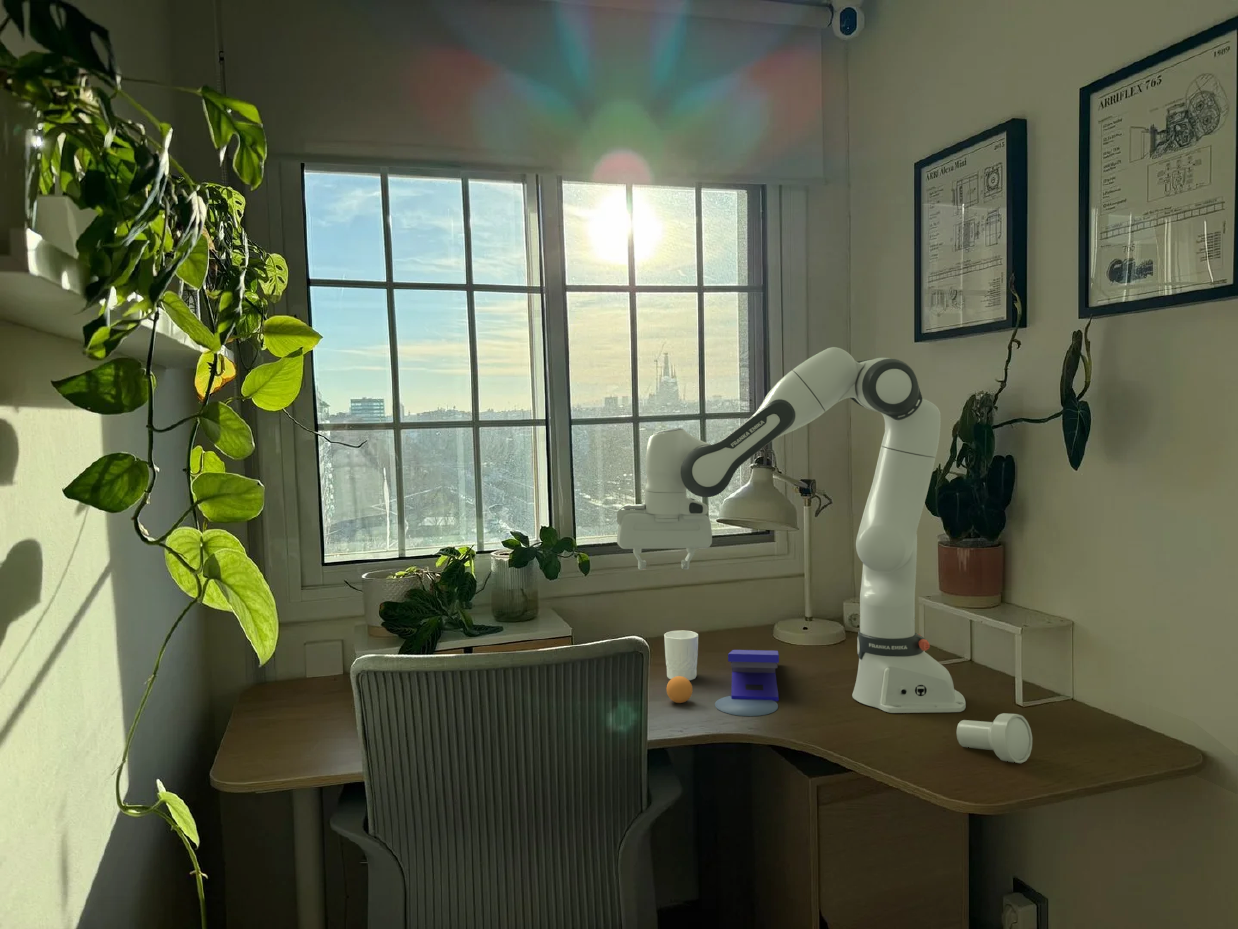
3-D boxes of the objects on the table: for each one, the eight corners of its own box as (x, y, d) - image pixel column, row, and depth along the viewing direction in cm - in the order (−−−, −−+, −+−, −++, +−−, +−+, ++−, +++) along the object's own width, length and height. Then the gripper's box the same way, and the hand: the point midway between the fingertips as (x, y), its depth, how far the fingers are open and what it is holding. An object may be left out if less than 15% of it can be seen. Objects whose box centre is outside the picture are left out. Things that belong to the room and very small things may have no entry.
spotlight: (1010, 764, 145) (1006, 714, 147) (950, 757, 155) (948, 710, 156) (1037, 762, 150) (1033, 714, 152) (978, 756, 159) (975, 710, 161)
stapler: (728, 701, 185) (728, 656, 185) (729, 664, 213) (729, 624, 212) (783, 703, 183) (782, 657, 183) (777, 665, 211) (777, 625, 211)
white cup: (698, 672, 205) (698, 630, 205) (698, 682, 198) (698, 639, 197) (665, 672, 206) (664, 630, 206) (663, 682, 198) (663, 638, 198)
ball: (694, 698, 186) (693, 673, 186) (690, 707, 181) (690, 681, 180) (668, 697, 187) (668, 672, 187) (664, 706, 182) (664, 680, 181)
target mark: (778, 697, 186) (778, 696, 186) (777, 718, 173) (777, 717, 173) (718, 694, 189) (718, 693, 189) (711, 714, 176) (711, 713, 176)
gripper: (619, 506, 180) (618, 572, 181) (715, 506, 183) (713, 571, 184) (614, 502, 186) (613, 566, 187) (707, 502, 189) (705, 565, 190)
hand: (663, 569), depth 185 cm, fingers open, 8 cm apart
